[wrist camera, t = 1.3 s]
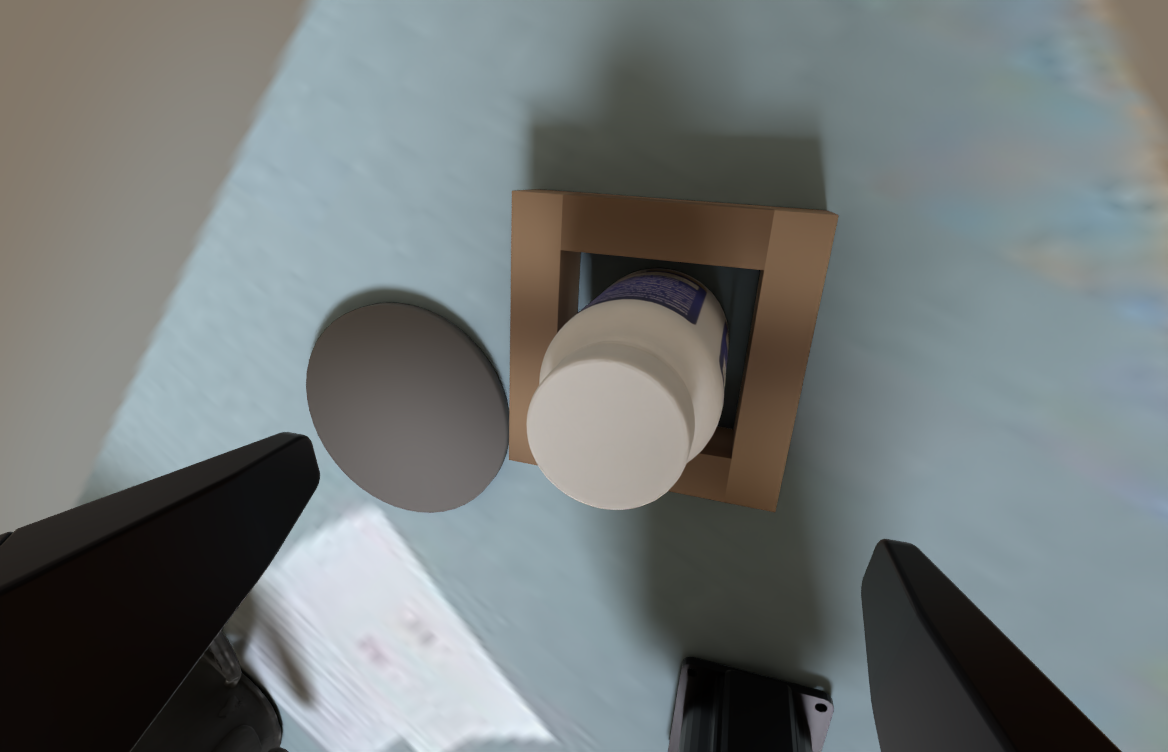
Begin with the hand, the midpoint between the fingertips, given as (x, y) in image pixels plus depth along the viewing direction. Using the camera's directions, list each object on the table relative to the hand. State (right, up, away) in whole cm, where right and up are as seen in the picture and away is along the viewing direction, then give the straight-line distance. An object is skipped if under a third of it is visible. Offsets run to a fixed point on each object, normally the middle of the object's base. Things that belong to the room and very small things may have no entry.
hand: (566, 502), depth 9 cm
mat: (-8, 0, +17) cm, 18 cm away
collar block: (+3, +3, +12) cm, 13 cm away
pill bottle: (+3, +4, +13) cm, 13 cm away
